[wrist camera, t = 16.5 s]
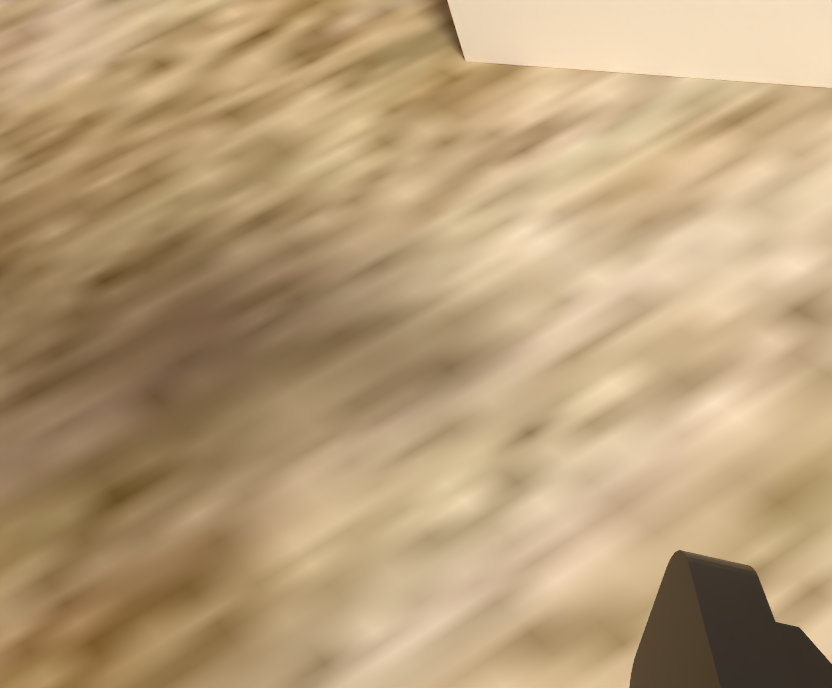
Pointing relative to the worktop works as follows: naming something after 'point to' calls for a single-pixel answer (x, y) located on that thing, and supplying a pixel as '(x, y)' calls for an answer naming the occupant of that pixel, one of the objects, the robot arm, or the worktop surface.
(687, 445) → the worktop surface
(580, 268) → the worktop surface
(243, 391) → the worktop surface
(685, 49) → the stand
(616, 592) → the worktop surface
